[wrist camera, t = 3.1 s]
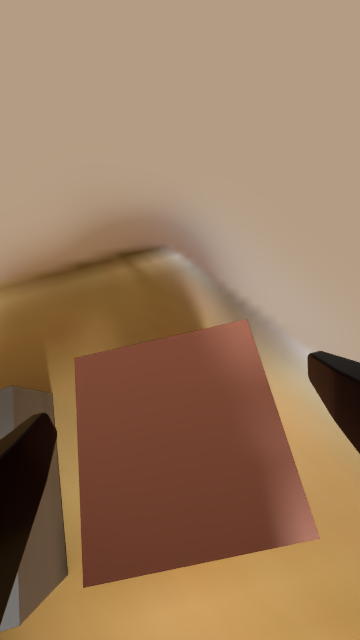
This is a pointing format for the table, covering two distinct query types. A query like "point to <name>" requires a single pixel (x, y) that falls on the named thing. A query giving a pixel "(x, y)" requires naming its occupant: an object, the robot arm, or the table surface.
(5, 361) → the table surface
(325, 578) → the table surface
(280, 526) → the red block
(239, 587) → the table surface
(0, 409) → the open box
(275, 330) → the table surface
